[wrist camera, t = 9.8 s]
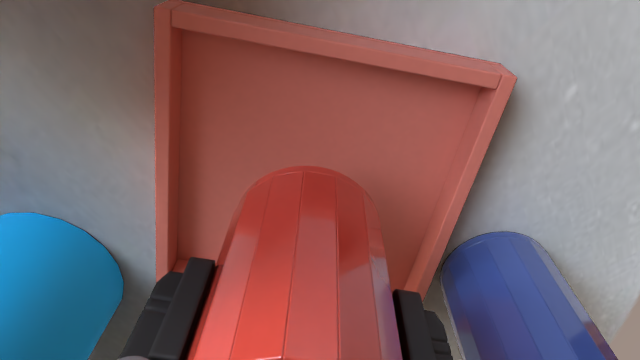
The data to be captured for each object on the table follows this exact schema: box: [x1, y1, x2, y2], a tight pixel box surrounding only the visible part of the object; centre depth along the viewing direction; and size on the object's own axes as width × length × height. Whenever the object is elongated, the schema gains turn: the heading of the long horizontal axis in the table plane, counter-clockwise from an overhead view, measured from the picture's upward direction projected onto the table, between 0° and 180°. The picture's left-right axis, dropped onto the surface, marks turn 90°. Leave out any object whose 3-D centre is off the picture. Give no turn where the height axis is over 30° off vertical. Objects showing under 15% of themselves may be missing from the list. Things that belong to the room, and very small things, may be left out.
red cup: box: [183, 166, 403, 360], centre depth 13 cm, size 6×6×8 cm
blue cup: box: [440, 232, 618, 360], centre depth 20 cm, size 6×6×8 cm
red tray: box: [154, 0, 517, 303], centre depth 19 cm, size 13×13×2 cm
